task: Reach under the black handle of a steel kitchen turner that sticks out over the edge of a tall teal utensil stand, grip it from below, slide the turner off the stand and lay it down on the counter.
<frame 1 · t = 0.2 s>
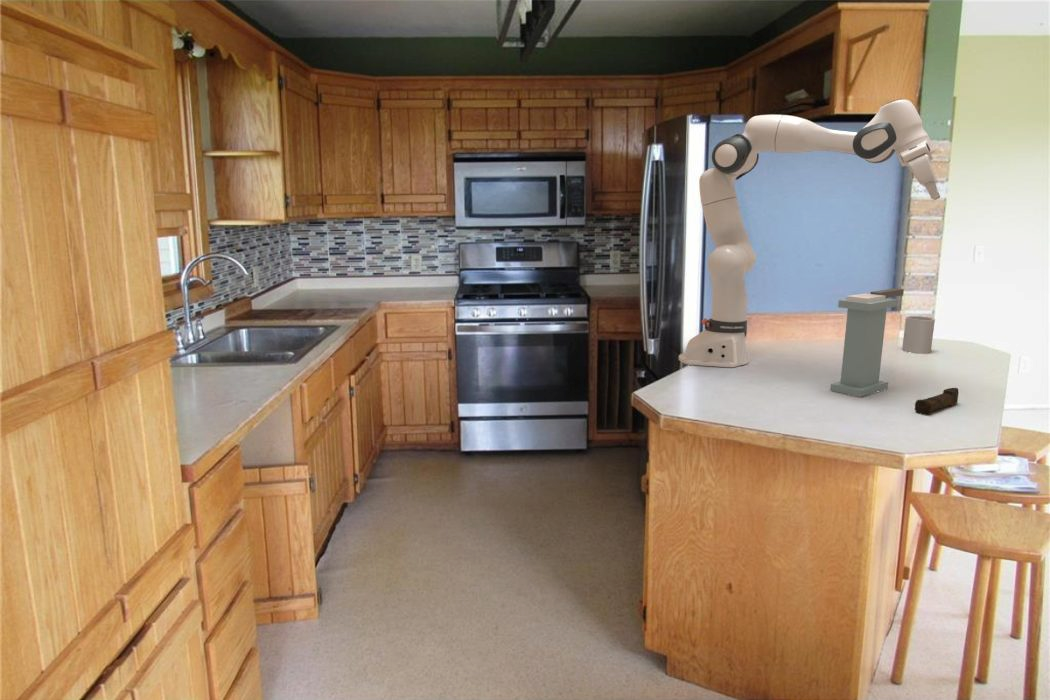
hand: (936, 198, 202), 54 cm above the table, tool tilted 25°, fingers open, 8 cm apart
stand: (858, 389, 208), on the table
turner: (878, 298, 206), point 26 cm above the table, touching stand
hand tool: (937, 409, 191), on the table
cup: (916, 351, 262), on the table
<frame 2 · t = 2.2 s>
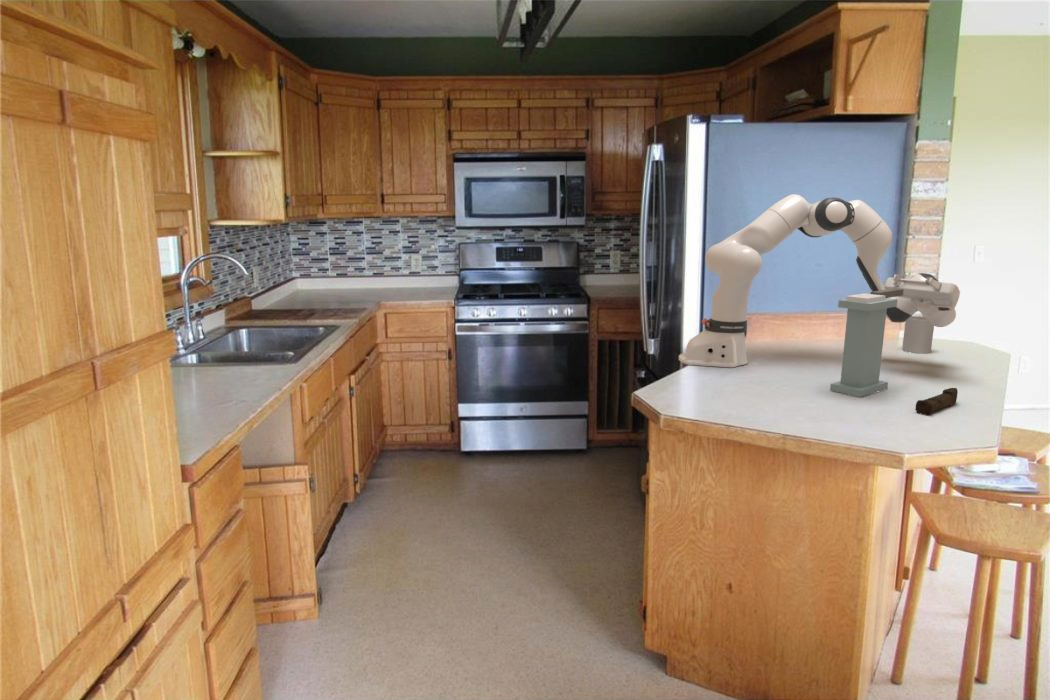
hand: (912, 278, 217), 30 cm above the table, tool pointing upward, fingers open, 8 cm apart
nothing on the table moved.
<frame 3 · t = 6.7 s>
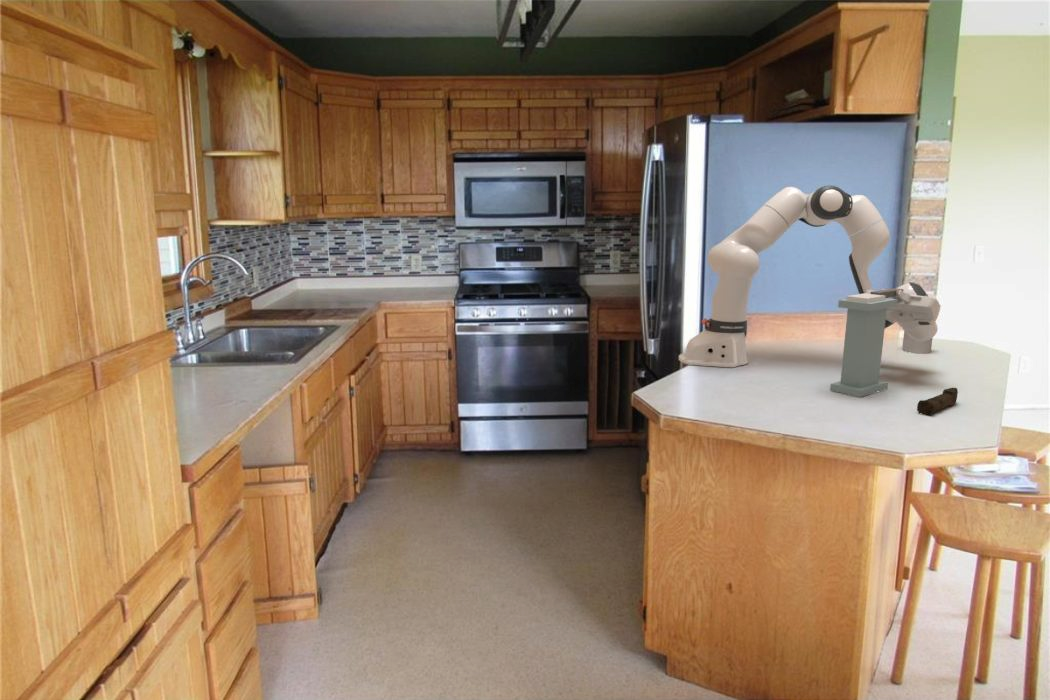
hand: (890, 291, 210), 27 cm above the table, tool pointing upward, fingers closed on turner, 3 cm apart
turner: (878, 298, 206), point 26 cm above the table, touching gripper, stand
everything else where it was.
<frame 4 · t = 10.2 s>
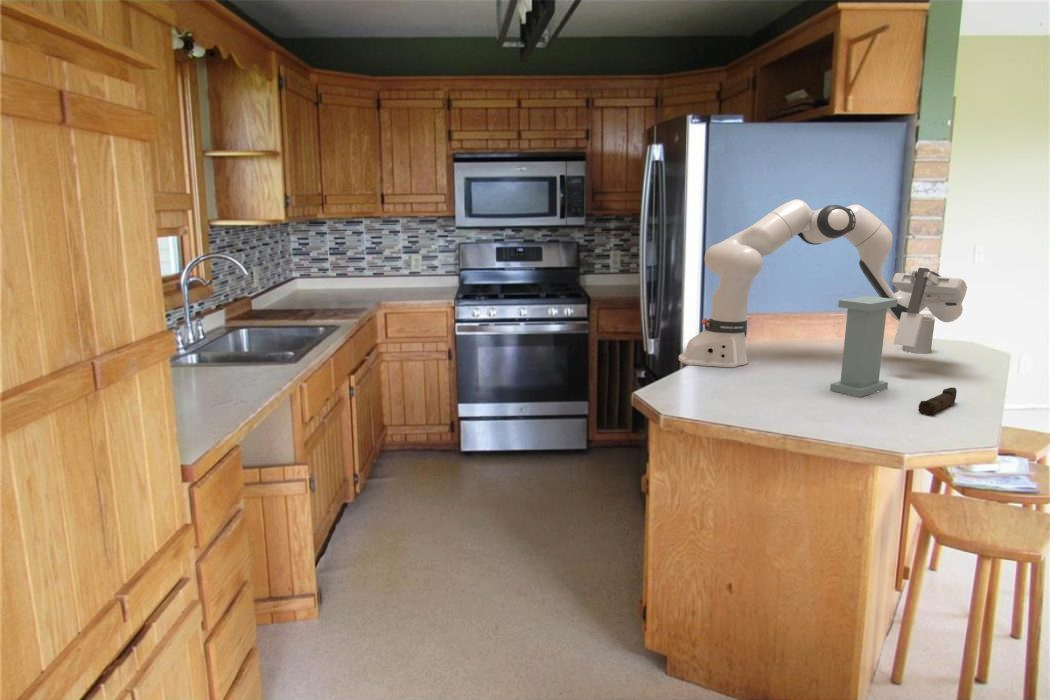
hand: (919, 273, 219), 32 cm above the table, tool pointing upward, fingers closed on turner, 3 cm apart
turner: (915, 307, 221), point 21 cm above the table, tilted 71°, touching gripper
everything else where it was.
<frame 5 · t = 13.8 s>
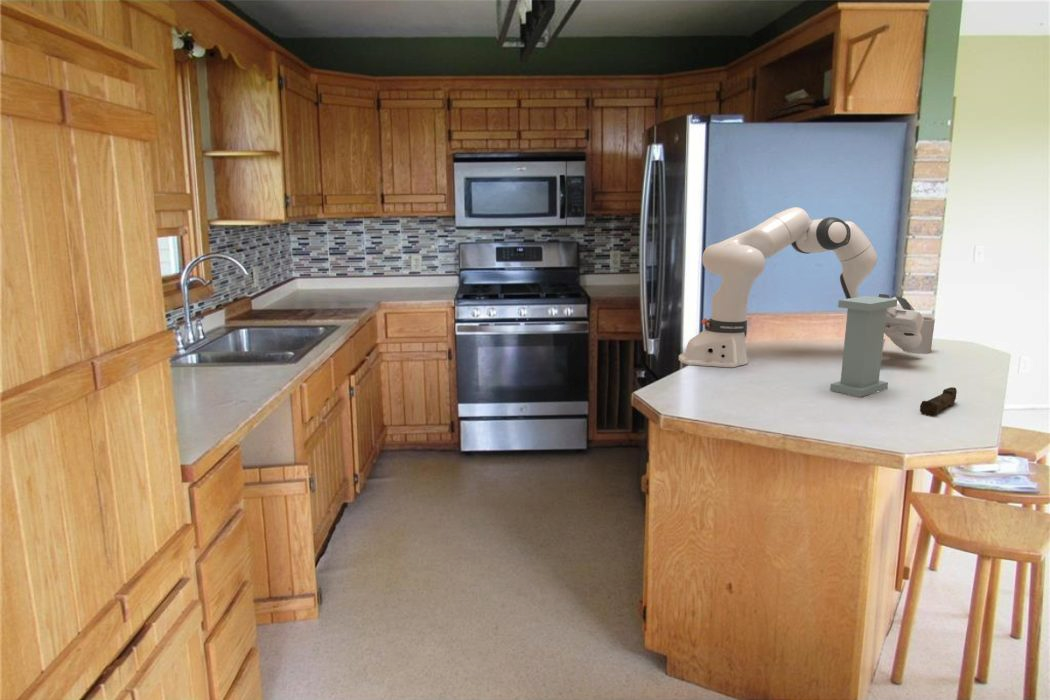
hand: (878, 305, 232), 20 cm above the table, tool pointing upward, fingers closed on turner, 3 cm apart
turner: (877, 331, 234), point 12 cm above the table, tilted 76°, touching gripper
everything else where it was.
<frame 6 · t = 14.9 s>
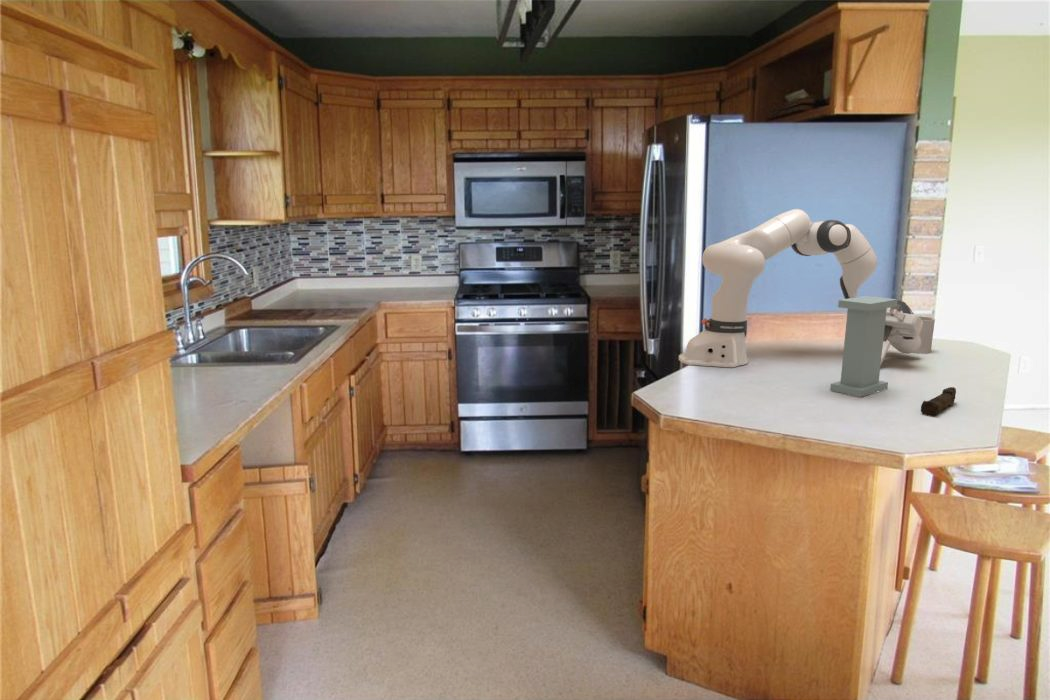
hand: (878, 309, 232), 19 cm above the table, tool pointing upward, fingers open, 8 cm apart
turner: (883, 337, 238), point 9 cm above the table, tilted 50°, touching arm
everything else where it was.
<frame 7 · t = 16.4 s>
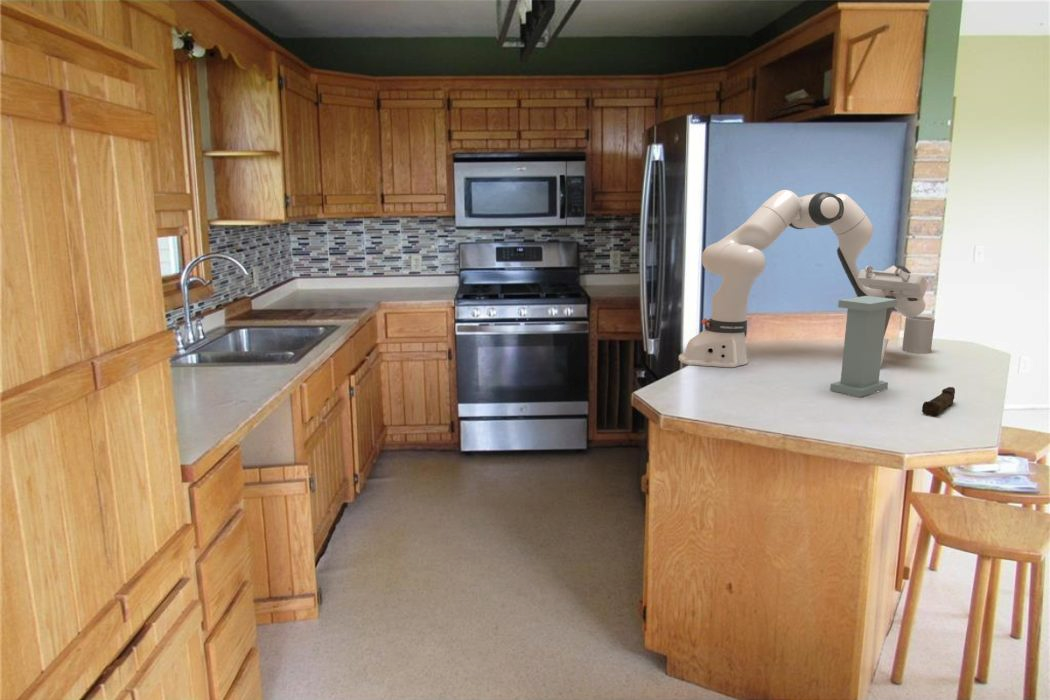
hand: (882, 269, 229), 32 cm above the table, tool pointing upward, fingers open, 8 cm apart
turner: (881, 332, 236), point 11 cm above the table, tilted 67°
everything else where it was.
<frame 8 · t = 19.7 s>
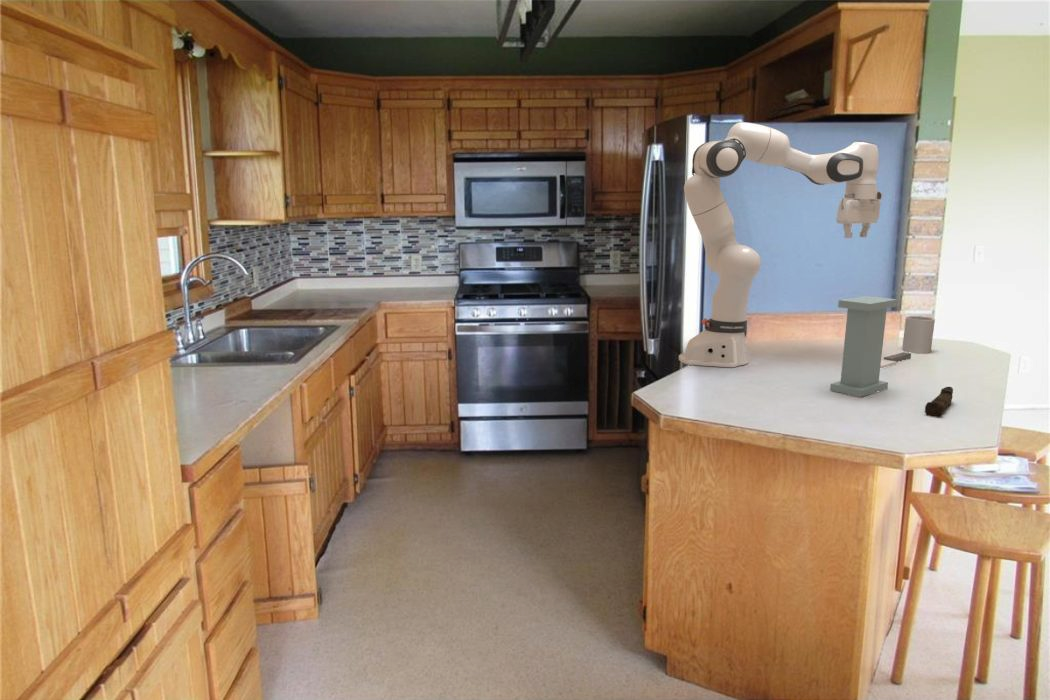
hand: (855, 237, 237), 41 cm above the table, tool pointing down, fingers open, 8 cm apart
turner: (889, 362, 243), on the table
at the end: turner on the table; turner moved 47.1 cm from its start; the gripper is holding nothing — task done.
